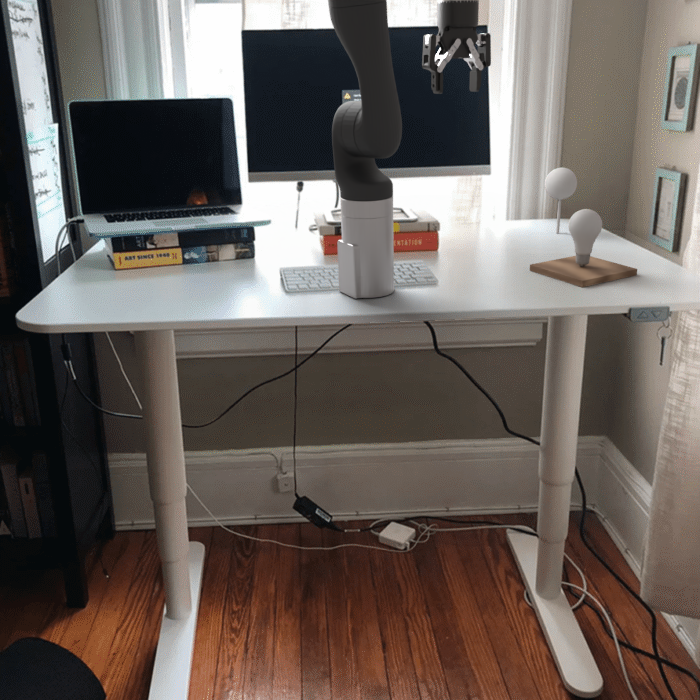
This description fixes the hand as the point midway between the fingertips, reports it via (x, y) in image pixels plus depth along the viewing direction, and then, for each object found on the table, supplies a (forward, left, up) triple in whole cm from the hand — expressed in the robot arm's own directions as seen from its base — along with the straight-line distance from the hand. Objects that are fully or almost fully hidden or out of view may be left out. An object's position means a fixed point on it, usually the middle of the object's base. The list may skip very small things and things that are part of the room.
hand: (456, 92), depth 151 cm
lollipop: (+35, +7, -33) cm, 49 cm away
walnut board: (+15, -21, -33) cm, 42 cm away
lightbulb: (+15, -21, -32) cm, 41 cm away
